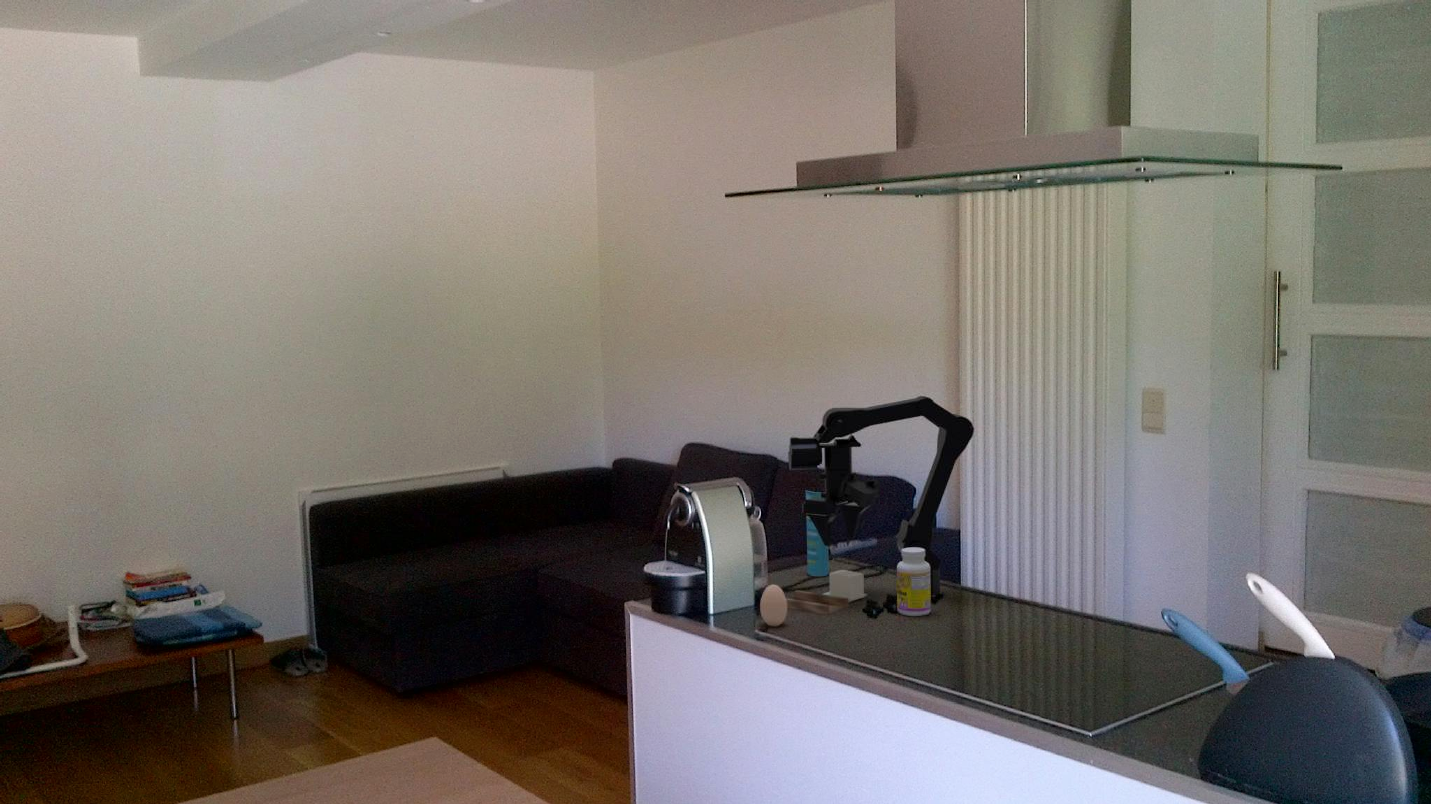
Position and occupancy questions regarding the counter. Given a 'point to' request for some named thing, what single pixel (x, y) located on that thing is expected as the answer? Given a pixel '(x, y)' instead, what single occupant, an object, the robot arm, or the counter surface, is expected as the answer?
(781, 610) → the egg
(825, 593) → the pad
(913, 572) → the supplement bottle
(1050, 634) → the counter surface
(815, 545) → the tube
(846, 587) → the block
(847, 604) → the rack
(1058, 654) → the counter surface
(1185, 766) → the counter surface
